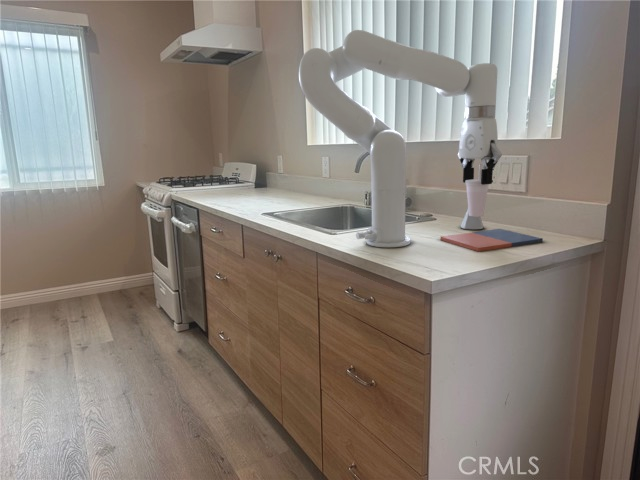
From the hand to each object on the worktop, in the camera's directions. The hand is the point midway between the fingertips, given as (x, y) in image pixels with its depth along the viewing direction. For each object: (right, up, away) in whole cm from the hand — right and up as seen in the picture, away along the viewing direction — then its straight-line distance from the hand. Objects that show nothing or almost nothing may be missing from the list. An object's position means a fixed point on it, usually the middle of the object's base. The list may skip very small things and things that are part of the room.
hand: (477, 182), depth 117 cm
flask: (+7, -12, +24) cm, 28 cm away
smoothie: (0, -9, +2) cm, 9 cm away
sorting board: (+6, -16, +6) cm, 18 cm away
